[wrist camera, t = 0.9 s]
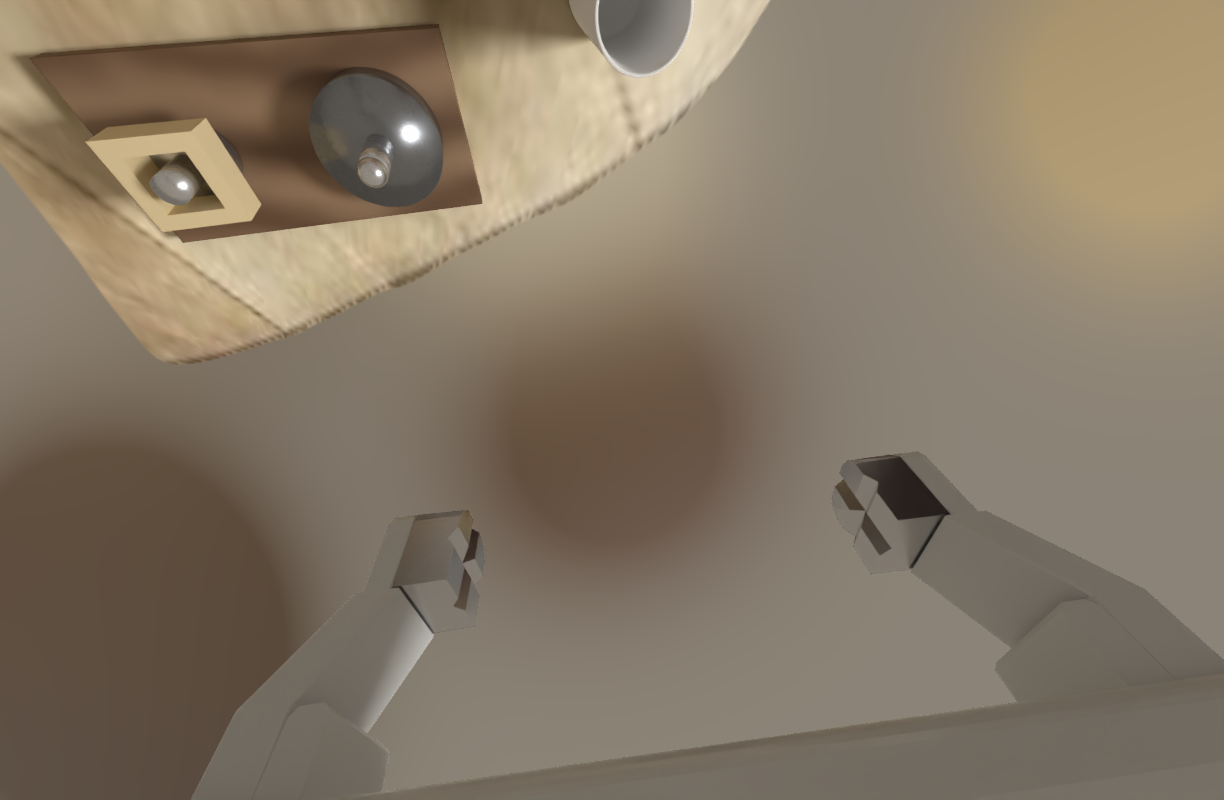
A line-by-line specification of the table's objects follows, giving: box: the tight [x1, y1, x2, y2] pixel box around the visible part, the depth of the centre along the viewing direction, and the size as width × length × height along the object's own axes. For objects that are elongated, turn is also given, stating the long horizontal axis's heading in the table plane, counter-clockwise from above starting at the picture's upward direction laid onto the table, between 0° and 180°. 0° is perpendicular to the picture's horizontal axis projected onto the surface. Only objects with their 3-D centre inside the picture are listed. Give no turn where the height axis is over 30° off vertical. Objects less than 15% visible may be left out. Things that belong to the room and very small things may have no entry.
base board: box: [29, 24, 482, 243], centre depth 38 cm, size 14×28×2 cm, turn 92°
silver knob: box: [149, 129, 243, 205], centre depth 35 cm, size 5×5×7 cm
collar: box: [86, 118, 261, 232], centre depth 34 cm, size 7×7×3 cm
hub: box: [309, 67, 443, 207], centre depth 36 cm, size 10×10×9 cm
